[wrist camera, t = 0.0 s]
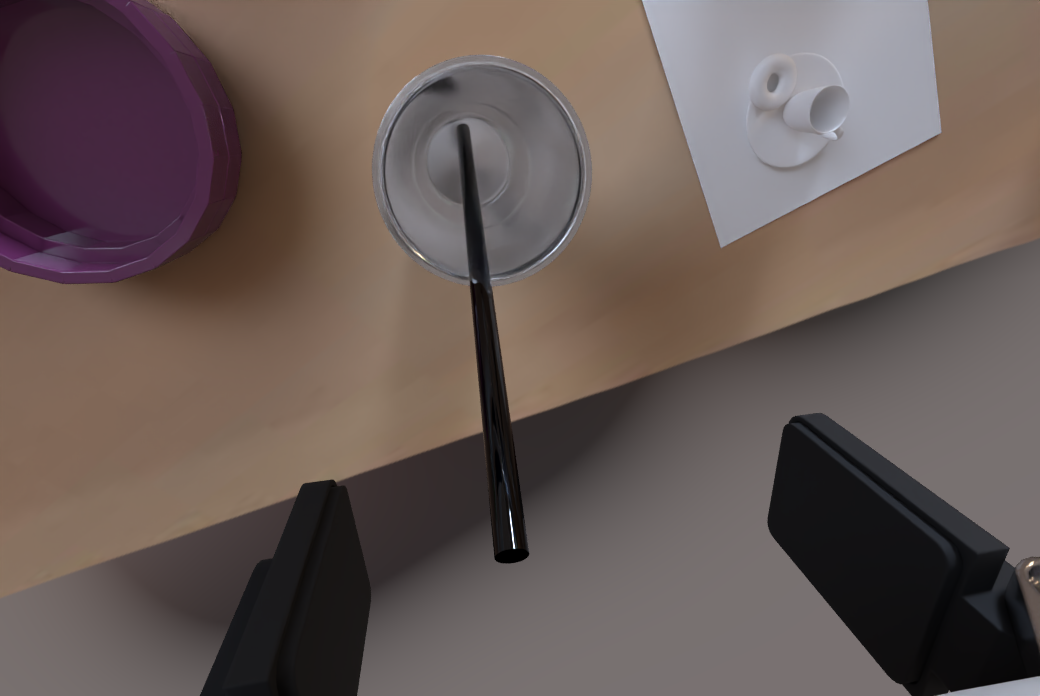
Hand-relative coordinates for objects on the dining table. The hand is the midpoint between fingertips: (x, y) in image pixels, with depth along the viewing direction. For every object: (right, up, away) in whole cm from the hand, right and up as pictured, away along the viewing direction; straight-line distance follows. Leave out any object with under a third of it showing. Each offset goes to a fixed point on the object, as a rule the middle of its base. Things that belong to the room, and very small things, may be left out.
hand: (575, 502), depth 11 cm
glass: (-5, +16, +27) cm, 32 cm away
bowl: (-29, +17, +22) cm, 40 cm away
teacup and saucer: (+20, +24, +27) cm, 42 cm away
